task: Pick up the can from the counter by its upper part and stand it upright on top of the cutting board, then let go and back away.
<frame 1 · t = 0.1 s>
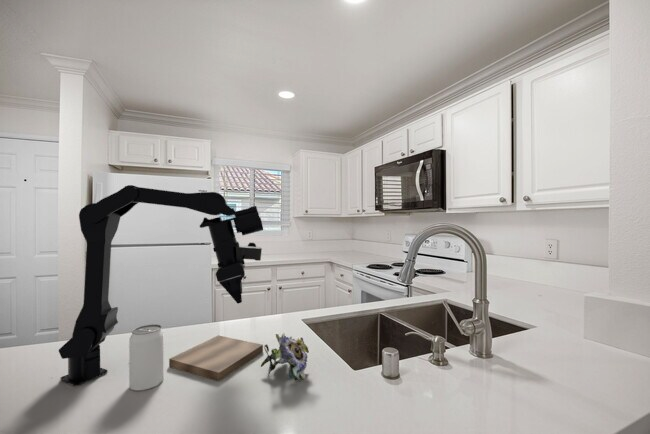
hand: (240, 298, 77), 15 cm above the countertop, tool pointing down, fingers open, 9 cm apart
passion flower: (284, 377, 68), on the countertop
cutting board: (218, 359, 76), on the countertop
can: (146, 384, 65), on the countertop
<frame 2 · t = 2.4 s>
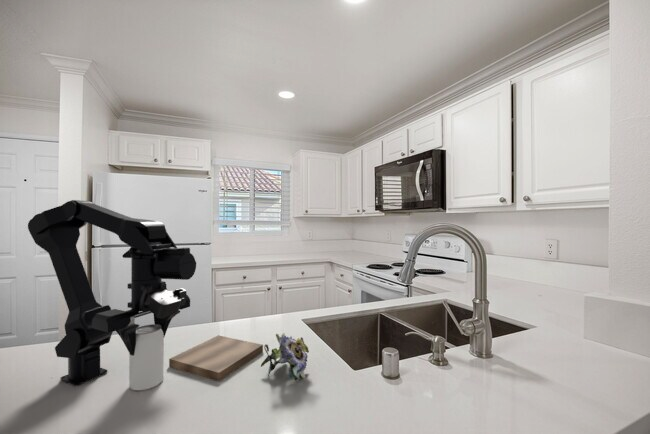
hand: (146, 349, 65), 8 cm above the countertop, tool pointing down, fingers closed on can, 6 cm apart
can: (146, 384, 65), on the countertop, touching gripper
everything else where it was.
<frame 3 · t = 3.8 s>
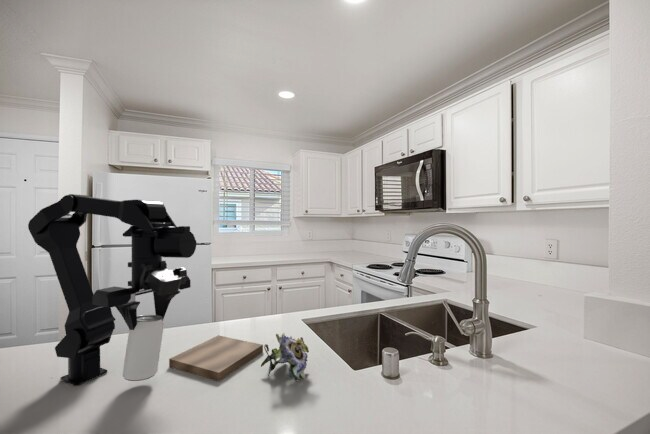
hand: (147, 328, 65), 12 cm above the countertop, tool pointing down, fingers closed on can, 5 cm apart
can: (139, 376, 64), point 2 cm above the countertop, touching gripper
everything else where it was.
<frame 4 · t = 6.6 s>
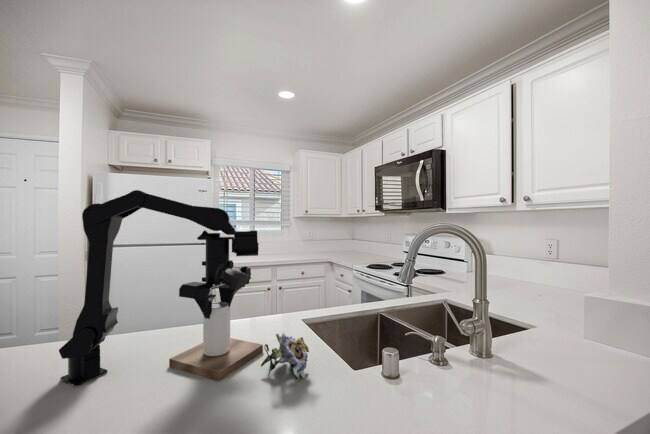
hand: (217, 317, 76), 11 cm above the countertop, tool pointing down, fingers closed on can, 5 cm apart
can: (216, 352, 76), point 2 cm above the countertop, touching gripper, cutting board
everything else where it was.
when the fingers open (11 cm above the countertop, at t = 6.7 s): can stays where it is, resting on cutting board.
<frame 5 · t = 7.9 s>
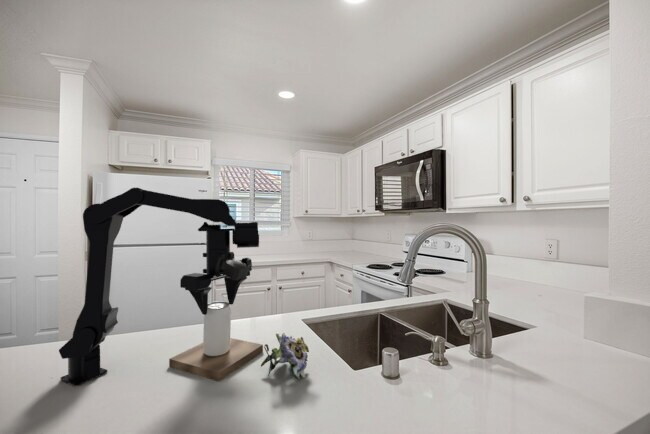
hand: (218, 309, 76), 13 cm above the countertop, tool pointing down, fingers open, 9 cm apart
can: (216, 351, 76), point 2 cm above the countertop, touching cutting board
everything else where it was.
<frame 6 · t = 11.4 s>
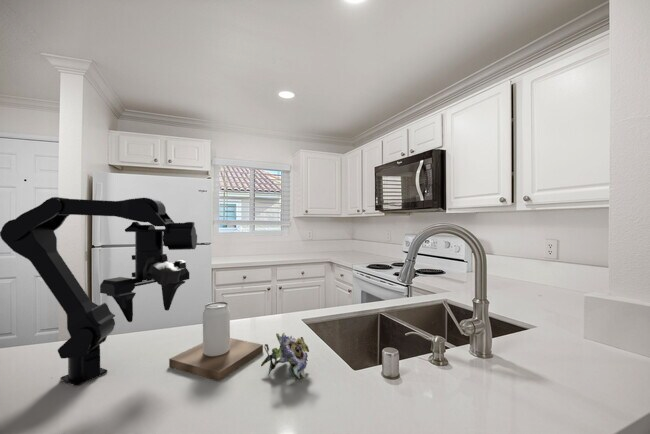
hand: (149, 315, 71), 13 cm above the countertop, tool pointing down, fingers open, 9 cm apart
nothing on the countertop moved.
at the end: can inside the target area on the cutting board (0.4 cm from its centre), point 1.8 cm above the cutting board's base; can tilted 0°; the gripper is holding nothing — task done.
